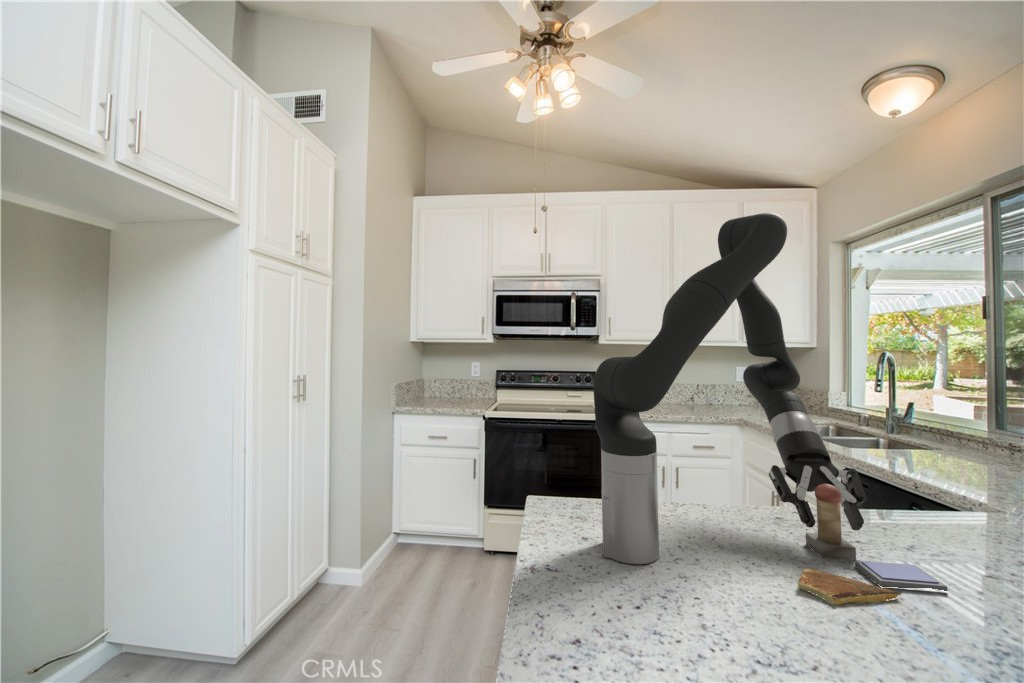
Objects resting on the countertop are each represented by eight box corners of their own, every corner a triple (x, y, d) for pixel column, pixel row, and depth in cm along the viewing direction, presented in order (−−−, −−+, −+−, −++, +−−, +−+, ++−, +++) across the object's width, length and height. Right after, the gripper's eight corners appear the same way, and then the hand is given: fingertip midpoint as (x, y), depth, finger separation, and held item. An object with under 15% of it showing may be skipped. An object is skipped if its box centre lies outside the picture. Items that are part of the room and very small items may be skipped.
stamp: (821, 557, 68) (818, 488, 68) (806, 544, 73) (803, 479, 73) (856, 560, 67) (853, 489, 67) (838, 546, 72) (835, 480, 72)
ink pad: (880, 587, 59) (880, 579, 59) (855, 566, 65) (854, 559, 65) (947, 593, 57) (947, 584, 57) (915, 571, 63) (914, 563, 63)
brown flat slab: (902, 603, 56) (901, 590, 56) (903, 631, 50) (902, 616, 50) (804, 575, 63) (804, 563, 63) (796, 597, 58) (795, 584, 58)
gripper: (761, 428, 79) (793, 513, 67) (847, 430, 77) (896, 519, 64) (752, 450, 84) (780, 533, 72) (832, 452, 82) (875, 539, 69)
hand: (834, 526), depth 68 cm, fingers open, 6 cm apart
